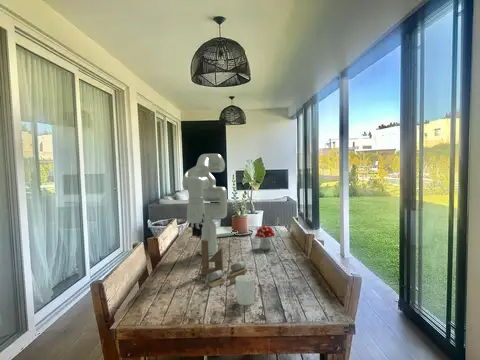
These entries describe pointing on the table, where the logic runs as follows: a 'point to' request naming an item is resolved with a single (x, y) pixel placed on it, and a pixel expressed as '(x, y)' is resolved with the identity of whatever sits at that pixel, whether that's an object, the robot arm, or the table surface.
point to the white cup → (245, 289)
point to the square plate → (224, 232)
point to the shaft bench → (216, 276)
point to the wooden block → (205, 259)
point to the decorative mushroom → (265, 237)
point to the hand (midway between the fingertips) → (197, 235)
